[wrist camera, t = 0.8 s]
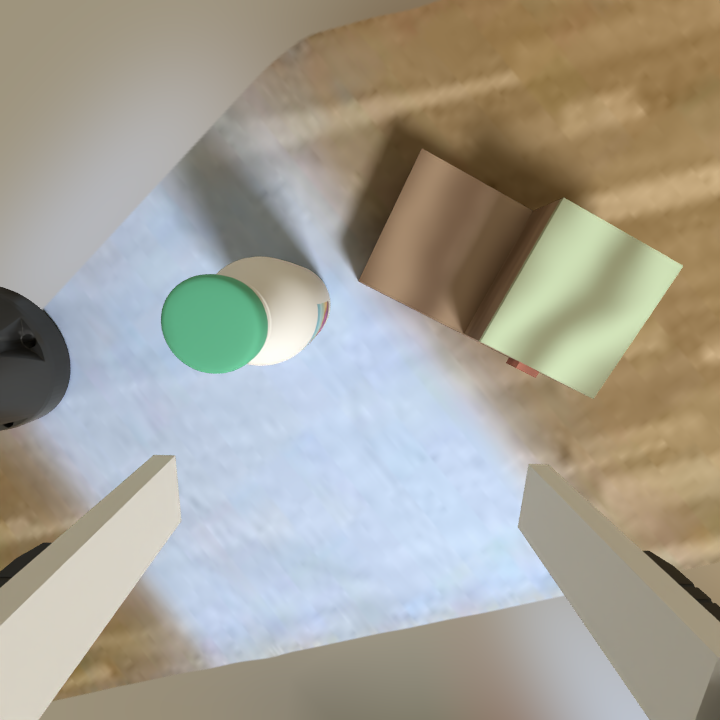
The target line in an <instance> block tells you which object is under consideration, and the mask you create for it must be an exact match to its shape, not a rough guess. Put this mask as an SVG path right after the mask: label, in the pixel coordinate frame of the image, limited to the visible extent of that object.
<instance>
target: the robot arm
mask: <svg viewBox="0 0 720 720" xmlns="http://www.w3.org/2000/svg"><path fill="white" fill-rule="evenodd" d="M69 379H70V360H69V355H68V351H67V348H66V345H65V342H64V340H63V338H62V336H61V334H60V332H59V330H58V329H57V327H56V326H55V324H54V323H53V322H52V320H51V319H50V318H49V317H48V316H47V315H46V314H45V313H44V312H43V311H42V310H41V309H40V308H39V307H38V306H37V305H35V304H34V303H32V302H31V301H30V300H28V299H27V298H25V297H24V296H22V295H20V294H18V293H16V292H14V291H11V290H8V289H6V288H3V287H0V431H1V430H7V429H11V428H15V427H18V426H21V425H24V424H26V423H29V422H31V421H34V420H36V419H38V418H41V417H43V416H44V415H46V414H48V413H49V412H50V411H52V410H53V409H54V408H55V407H56V406H57V405H58V404H59V403H60V401H61V400H62V398H63V396H64V395H65V392H66V390H67V387H68V384H69ZM180 522H181V513H180V502H179V491H178V480H177V469H176V458H175V456H172V455H153V456H152V457H151V458H150V459H149V460H148V461H146V462H145V463H144V464H143V465H142V466H141V467H139V468H138V469H137V470H136V471H135V472H134V473H133V474H131V475H130V476H129V477H128V478H127V479H126V480H124V481H123V482H122V483H121V484H120V485H119V486H117V487H116V488H115V489H114V490H113V491H112V492H111V493H109V494H108V495H107V496H106V497H105V498H104V499H102V500H101V501H100V502H99V503H98V504H97V505H96V506H94V507H93V508H92V509H91V510H90V511H89V512H87V513H86V514H85V515H84V516H83V517H82V518H81V519H79V520H78V521H77V522H76V523H75V524H74V525H72V526H71V527H70V528H69V529H68V530H67V531H65V532H64V533H63V534H62V535H61V536H60V537H59V538H57V539H56V540H55V541H54V542H53V543H42V544H40V545H39V546H37V547H35V548H34V549H32V550H30V551H28V552H27V553H25V554H23V555H21V556H20V557H18V558H16V559H15V560H14V561H13V562H11V563H10V564H9V565H8V566H6V567H5V568H4V569H3V570H2V571H0V720H38V719H39V718H40V717H41V715H42V714H43V713H44V711H45V710H46V708H47V707H48V706H49V704H50V703H51V702H52V700H53V699H54V697H55V696H56V695H57V693H58V692H59V690H60V689H61V688H62V686H63V685H64V683H65V682H66V681H67V679H68V678H69V676H70V675H71V674H72V672H73V671H74V670H75V668H76V667H77V665H78V664H79V663H80V661H81V660H82V658H83V657H84V656H85V654H86V653H87V651H88V650H89V649H90V647H91V646H92V644H93V643H94V642H95V640H96V639H97V638H98V636H99V635H100V633H101V632H102V631H103V629H104V628H105V626H106V625H107V624H108V622H109V621H110V619H111V618H112V617H113V615H114V614H115V612H116V611H117V610H118V608H119V607H120V606H121V604H122V603H123V601H124V600H125V599H126V597H127V596H128V594H129V593H130V592H131V590H132V589H133V587H134V586H135V585H136V583H137V582H138V580H139V579H140V578H141V576H142V575H143V574H144V572H145V571H146V569H147V568H148V567H149V565H150V564H151V562H152V561H153V560H154V558H155V557H156V555H157V554H158V553H159V551H160V550H161V548H162V547H163V546H164V544H165V543H166V542H167V540H168V539H169V537H170V536H171V535H172V533H173V532H174V530H175V529H176V528H177V526H178V525H179V523H180ZM518 528H519V529H520V531H521V532H522V534H523V535H524V537H525V538H526V540H527V541H528V543H529V544H530V545H531V547H532V548H533V550H534V551H535V553H536V554H537V556H538V557H539V559H540V560H541V562H542V563H543V564H544V566H545V567H546V569H547V570H548V572H549V573H550V575H551V576H552V578H553V579H554V581H555V582H556V583H557V585H558V586H559V588H560V589H561V591H562V592H563V594H564V595H565V597H566V598H567V599H568V601H569V602H570V604H571V605H572V607H573V608H574V610H575V611H576V613H577V614H578V616H579V617H580V618H581V620H582V621H583V623H584V624H585V626H586V627H587V629H588V630H589V632H590V633H591V635H592V636H593V638H594V639H595V640H596V642H597V643H598V645H599V646H600V648H601V649H602V651H603V652H604V653H605V655H606V657H607V658H608V660H609V661H610V662H611V664H612V665H613V667H614V668H615V670H616V671H617V673H618V674H619V676H620V677H621V679H622V680H623V681H624V683H625V684H626V686H627V687H628V689H629V690H630V692H631V693H632V695H633V696H634V698H635V699H636V700H637V702H638V703H639V705H640V706H641V708H642V709H643V711H644V712H645V714H646V715H647V717H648V718H649V719H650V720H720V607H719V606H718V605H717V604H716V603H712V601H711V599H710V598H709V597H708V596H707V595H706V594H705V593H704V592H702V591H701V590H700V589H699V588H695V587H694V584H693V583H692V582H691V581H690V580H689V579H688V578H686V577H685V576H684V575H683V574H682V573H681V572H680V571H678V570H677V569H676V568H675V567H674V566H673V565H671V564H669V563H668V562H666V561H665V560H663V559H661V558H660V557H658V556H657V555H655V554H653V553H652V552H650V551H642V550H641V549H640V548H639V547H638V546H637V545H635V544H634V543H633V542H632V541H631V540H630V539H629V538H628V537H627V536H626V535H625V534H623V533H622V532H621V531H620V530H619V529H618V528H617V527H616V526H615V525H614V524H613V523H611V522H610V521H609V520H608V519H607V518H606V517H605V516H604V515H603V514H602V513H601V512H600V511H598V510H597V509H596V508H595V507H594V506H593V505H592V504H591V503H590V502H589V501H588V500H586V499H585V498H584V497H583V496H582V495H581V494H580V493H579V492H578V491H577V490H576V489H574V488H573V487H572V486H571V485H570V484H569V483H568V482H567V481H566V480H565V479H564V478H563V477H561V476H560V475H559V474H558V473H557V472H556V471H555V470H554V469H553V468H552V467H551V466H549V465H544V464H529V465H528V471H527V476H526V482H525V488H524V494H523V500H522V506H521V512H520V517H519V523H518Z"/></svg>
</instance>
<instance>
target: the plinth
mask: <svg viewBox="0 0 720 720" xmlns="http://www.w3.org/2000/svg"><path fill="white" fill-rule="evenodd" d="M682 267H683V265H681V264H679V263H677V262H676V261H674V260H672V259H670V258H669V257H667V256H665V255H663V254H662V253H660V252H658V251H656V250H655V249H653V248H651V247H649V246H648V245H646V244H644V243H642V242H641V241H639V240H637V239H635V238H634V237H632V236H630V235H628V234H627V233H625V232H623V231H621V230H620V229H618V228H616V227H614V226H613V225H611V224H609V223H607V222H606V221H604V220H602V219H601V218H599V217H597V216H595V215H594V214H592V213H590V212H588V211H587V210H585V209H583V208H581V207H580V206H578V205H576V204H574V203H573V202H571V201H569V200H567V199H566V198H562V199H559V200H557V201H555V202H553V203H550V204H548V205H546V206H543V207H541V208H539V209H536V210H534V211H533V210H531V209H529V208H527V207H525V206H524V205H522V204H520V203H518V202H517V201H515V200H513V199H511V198H509V197H508V196H506V195H504V194H502V193H501V192H499V191H497V190H495V189H493V188H492V187H490V186H488V185H486V184H485V183H483V182H481V181H479V180H477V179H476V178H474V177H472V176H470V175H469V174H467V173H465V172H463V171H461V170H460V169H458V168H456V167H454V166H453V165H451V164H449V163H447V162H445V161H444V160H442V159H440V158H438V157H436V156H435V155H433V154H431V153H429V152H428V151H426V150H424V149H421V151H420V153H419V155H418V157H417V160H416V162H415V164H414V166H413V168H412V170H411V172H410V174H409V176H408V178H407V180H406V183H405V185H404V187H403V189H402V191H401V193H400V195H399V197H398V199H397V201H396V203H395V206H394V208H393V210H392V212H391V214H390V216H389V218H388V220H387V222H386V224H385V226H384V229H383V231H382V233H381V235H380V237H379V239H378V241H377V243H376V245H375V247H374V249H373V252H372V254H371V256H370V258H369V260H368V262H367V264H366V266H365V268H364V270H363V272H362V275H361V277H360V279H359V282H361V283H363V284H365V285H366V286H368V287H370V288H372V289H374V290H376V291H378V292H380V293H382V294H384V295H386V296H388V297H390V298H392V299H394V300H396V301H398V302H400V303H402V304H404V305H406V306H408V307H410V308H412V309H414V310H416V311H418V312H420V313H422V314H424V315H426V316H428V317H430V318H432V319H434V320H436V321H438V322H440V323H442V324H444V325H445V326H447V327H449V328H451V329H453V330H455V331H457V332H459V333H461V334H463V335H465V336H467V337H469V338H471V339H473V340H475V341H477V342H479V343H481V344H483V345H485V346H487V347H489V348H491V349H493V350H495V351H497V352H499V353H501V354H503V355H505V356H507V357H509V359H508V360H507V362H506V363H507V364H509V365H511V366H513V367H515V368H517V369H519V370H521V371H523V372H525V373H527V374H529V375H531V376H533V377H535V378H536V376H537V375H538V373H540V374H542V375H544V376H547V377H549V378H551V379H553V380H555V381H557V382H559V383H561V384H563V385H565V386H567V387H570V388H572V389H574V390H576V391H578V392H580V393H582V394H584V395H586V396H588V397H590V398H593V399H594V397H595V396H596V394H597V393H598V391H599V390H600V388H601V387H602V385H603V384H604V382H605V381H606V379H607V378H608V377H609V375H610V374H611V372H612V371H613V369H614V368H615V366H616V365H617V363H618V362H619V360H620V359H621V357H622V356H623V354H624V353H625V351H626V350H627V348H628V347H629V346H630V344H631V343H632V341H633V340H634V338H635V337H636V335H637V334H638V332H639V331H640V329H641V328H642V326H643V325H644V323H645V322H646V320H647V319H648V317H649V316H650V315H651V313H652V312H653V310H654V309H655V307H656V306H657V304H658V303H659V301H660V300H661V298H662V297H663V295H664V294H665V292H666V291H667V289H668V288H669V286H670V285H671V283H672V282H673V281H674V279H675V278H676V276H677V275H678V273H679V272H680V270H681V269H682Z"/></svg>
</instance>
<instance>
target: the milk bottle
mask: <svg viewBox="0 0 720 720" xmlns="http://www.w3.org/2000/svg"><path fill="white" fill-rule="evenodd" d="M329 313H330V297H329V293H328V290H327V288H326V286H325V284H324V283H323V281H322V280H321V279H320V278H319V277H318V276H317V275H316V274H315V273H313V272H312V271H310V270H308V269H307V268H304V267H302V266H299V265H296V264H293V263H290V262H287V261H284V260H281V259H276V258H271V257H260V256H258V257H249V258H243V259H240V260H237V261H235V262H233V263H231V264H229V265H227V266H226V267H224V268H223V269H221V270H220V271H219V272H218V273H217V274H206V275H198V276H194V277H191V278H189V279H187V280H185V281H183V282H181V283H180V284H179V285H177V286H176V287H175V288H174V289H173V290H172V291H171V292H170V294H169V295H168V297H167V298H166V300H165V303H164V305H163V309H162V314H161V326H162V331H163V335H164V338H165V340H166V342H167V344H168V346H169V348H170V349H171V351H172V352H173V353H174V355H175V356H176V357H177V358H178V359H179V360H181V361H182V362H183V363H184V364H186V365H188V366H189V367H191V368H193V369H195V370H198V371H201V372H205V373H227V372H231V371H234V370H237V369H239V368H240V367H242V366H244V365H246V364H250V365H257V366H264V365H273V364H277V363H280V362H283V361H285V360H288V359H290V358H292V357H293V356H295V355H296V354H298V353H299V352H300V351H301V350H303V349H304V348H305V347H306V346H307V345H308V344H309V343H310V342H311V341H312V340H313V339H314V338H315V337H316V335H317V334H318V333H319V332H320V331H321V330H322V328H323V327H324V325H325V324H326V322H327V319H328V317H329Z"/></svg>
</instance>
